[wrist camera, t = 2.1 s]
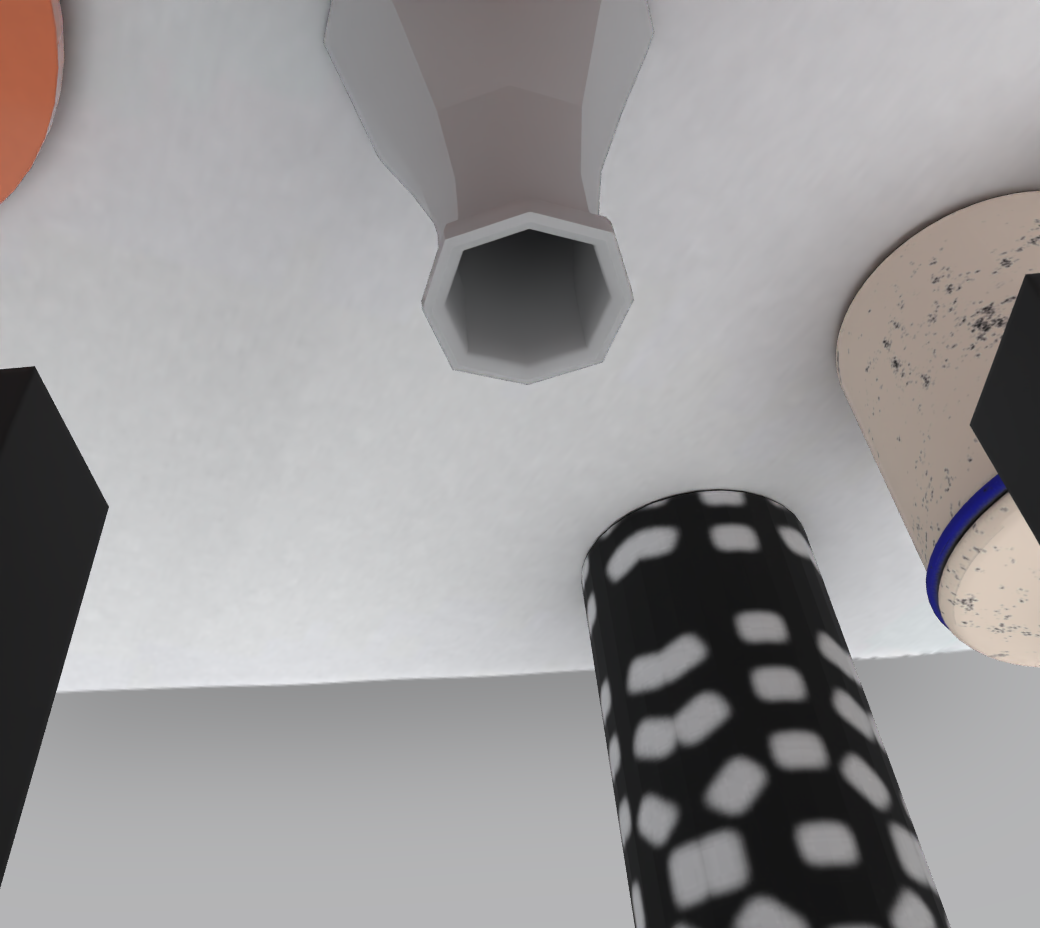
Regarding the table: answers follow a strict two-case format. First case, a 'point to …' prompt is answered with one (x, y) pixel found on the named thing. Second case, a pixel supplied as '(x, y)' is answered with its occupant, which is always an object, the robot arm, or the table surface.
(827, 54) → the table surface
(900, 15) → the table surface
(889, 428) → the teacup with lid
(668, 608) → the white-spotted black cylinder
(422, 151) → the flask
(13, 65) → the lid
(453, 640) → the table surface
